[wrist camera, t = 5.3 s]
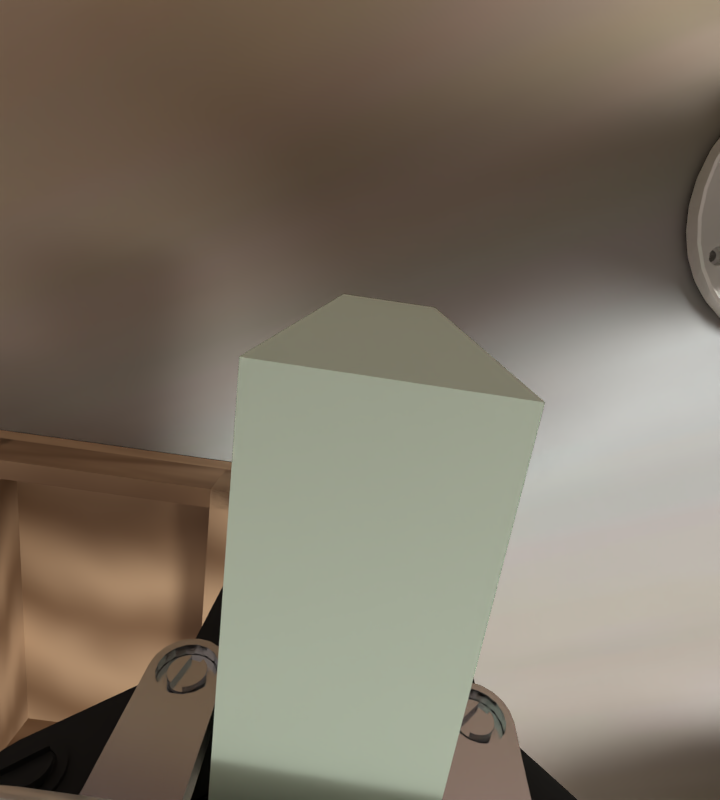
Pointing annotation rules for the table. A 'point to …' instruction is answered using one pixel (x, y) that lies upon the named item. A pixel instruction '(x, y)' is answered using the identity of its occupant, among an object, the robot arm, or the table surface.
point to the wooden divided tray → (99, 569)
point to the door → (362, 551)
